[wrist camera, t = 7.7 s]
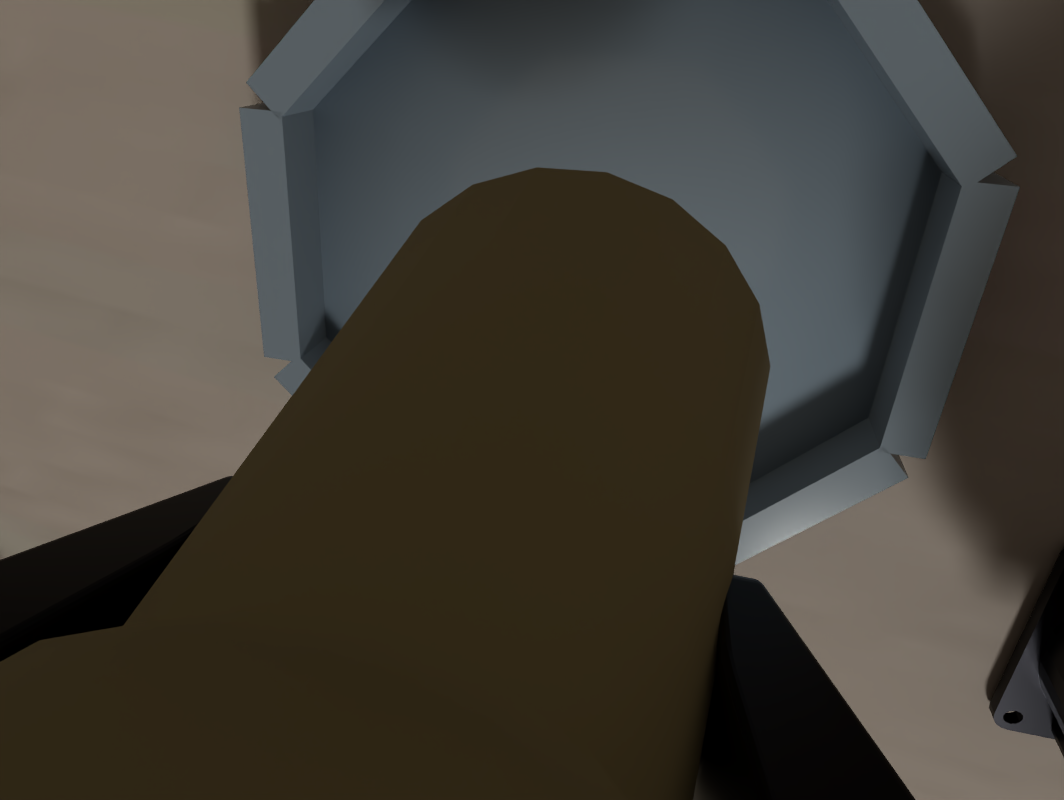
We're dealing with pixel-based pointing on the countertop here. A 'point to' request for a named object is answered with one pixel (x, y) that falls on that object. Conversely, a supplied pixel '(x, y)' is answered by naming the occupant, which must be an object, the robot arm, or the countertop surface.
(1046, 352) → the countertop surface
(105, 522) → the robot arm
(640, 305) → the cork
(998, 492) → the countertop surface
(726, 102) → the dish
